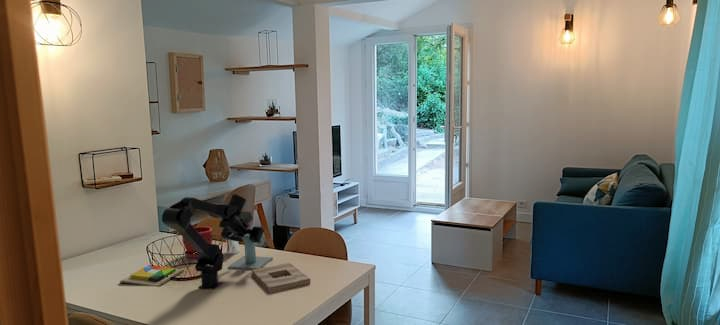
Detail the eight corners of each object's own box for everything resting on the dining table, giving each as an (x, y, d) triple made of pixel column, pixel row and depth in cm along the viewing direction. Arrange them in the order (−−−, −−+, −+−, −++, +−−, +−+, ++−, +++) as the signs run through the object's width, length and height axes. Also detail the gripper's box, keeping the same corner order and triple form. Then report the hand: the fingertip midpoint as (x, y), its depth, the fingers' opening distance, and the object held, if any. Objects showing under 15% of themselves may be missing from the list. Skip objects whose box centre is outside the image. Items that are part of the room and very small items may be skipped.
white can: (242, 249, 236) (240, 218, 234) (237, 254, 229) (235, 222, 227) (228, 249, 237) (226, 218, 235) (223, 254, 230) (220, 222, 228)
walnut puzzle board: (310, 283, 191) (310, 278, 190) (269, 292, 183) (269, 287, 183) (289, 267, 210) (289, 262, 210) (252, 274, 202) (251, 270, 202)
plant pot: (208, 259, 224) (206, 232, 223) (179, 259, 225) (177, 233, 223) (217, 249, 237) (215, 225, 236) (190, 250, 238) (187, 226, 236)
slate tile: (258, 270, 207) (258, 268, 207) (228, 268, 211) (227, 266, 211) (272, 259, 221) (272, 257, 221) (243, 257, 224) (243, 255, 224)
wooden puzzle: (161, 287, 194) (160, 279, 193) (118, 285, 197) (117, 276, 197) (185, 271, 210) (185, 263, 210) (145, 269, 214) (145, 262, 214)
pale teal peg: (258, 261, 215) (256, 234, 214) (248, 264, 213) (246, 236, 211) (252, 259, 219) (251, 232, 217) (243, 262, 216) (241, 234, 214)
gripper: (260, 208, 205) (276, 227, 217) (223, 205, 212) (240, 224, 224) (249, 232, 199) (267, 250, 210) (212, 228, 206) (230, 246, 218)
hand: (251, 242), depth 216 cm, fingers open, 9 cm apart
